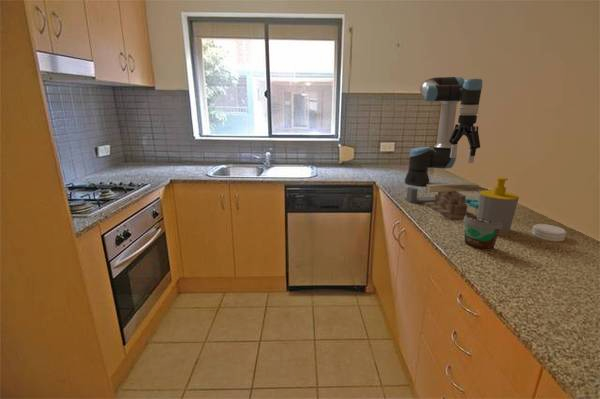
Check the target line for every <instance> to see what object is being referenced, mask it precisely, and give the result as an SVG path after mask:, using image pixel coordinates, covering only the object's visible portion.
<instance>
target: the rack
mask: <svg viewBox="0 0 600 399" xmlns="http://www.w3.org/2000/svg"><path fill="white" fill-rule="evenodd" d="M404 200H405V201H407V202H408V203H410V204H411V203H412V204H413V203H414V204H415V203H417V204H418V203H425V202H434V200H435V196H419V197H418V188H416V187H414V186H407V191H406V197H405V198H404Z"/></svg>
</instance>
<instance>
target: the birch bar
mask: <svg viewBox="0 0 600 399" xmlns="http://www.w3.org/2000/svg"><path fill="white" fill-rule="evenodd" d="M478 190H479V184H478V183H475V182H464V183H463V182H462V183H461V182H460V183H459V182H458V183H433V184H430V183H429V184H426V186H425V192H428V193H438V192H454V191H456V192H475V191H476V192H478Z"/></svg>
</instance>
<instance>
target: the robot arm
mask: <svg viewBox="0 0 600 399" xmlns="http://www.w3.org/2000/svg"><path fill="white" fill-rule="evenodd" d="M482 89H483V79H482V78H468V79H464V77H461V76H447V77H446V76H445V77H443V76H442V77H438V76H437V77H432V78H428V79H426V80H425V81H423V82H422V83H421V85H420V88H419V91H420V94H421V96H423V97H424V100H425V101H426V102H432V103H433V102H439V103H440V104H441V105H440V113H439V122H438V130H437V139H436V144H435V145H434V146H433V149H432V148H431V147H430V146H419V147H413V148H412V149H410V152H409V160H408V161H409V162H408V170H407V173H406V176H405V177H404V184H405V185H409V186H415V187H416V186H420V187H422V186H423V187H424V186H425V187H426V184H430V178H429V174H428V173H429V172H428V171H429V169H443V170H444V169H446V170H447V169H448V170H449V169H451V168H453V167H454V164H455V163H456V159H457V153H458V145H459V144H458V143H459V141H461V138H462V137H463V136H465V137H466V138H467V142H468V145H469V148H468V154H467V159H466V160H467V161H466V164H473V163H474V162H475V156H476V151H477V149H480V148H481V142H480V135H479V126H477V125H474V124H476V123H477V119H478V116H477V115H478V114H479V108H480V101H481V94H482ZM459 102H460V107H459V115H458V120H457V123H458V124H455V122H456V115H457V107H458V104H459Z"/></svg>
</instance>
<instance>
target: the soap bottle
mask: <svg viewBox="0 0 600 399" xmlns="http://www.w3.org/2000/svg"><path fill="white" fill-rule="evenodd" d="M495 179H496V180H497V183H496V184H497V185H495V186H494V188H493V189H491V190H489V189H487V190H481V191H480V192H479V196H478V200H479V204H478V208H477V215H476V218H478V219H485V220H488V221H490V222H494V223H500V222H502V224H503V228H501V229H500V230H499V233H498V236H505V235H509V233H510V231H511V227H512V223H513V220H514V216H515V212H516V209H517V205H518V202H519V199H520V196H519V195H518V194H515V193H513V192H508V191H506V190H507V187H506V186H505V184H506V183H505V182H506V181H508V180H509V179H508V178H506V177H503V176H502V177H501V176H499V177H495Z"/></svg>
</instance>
